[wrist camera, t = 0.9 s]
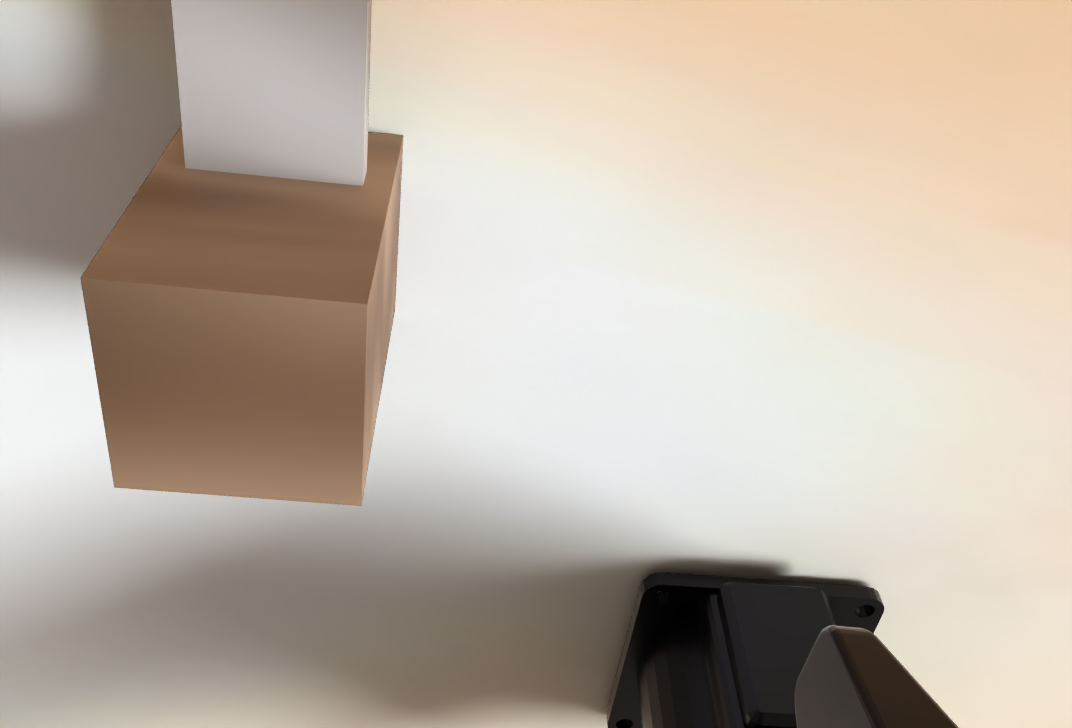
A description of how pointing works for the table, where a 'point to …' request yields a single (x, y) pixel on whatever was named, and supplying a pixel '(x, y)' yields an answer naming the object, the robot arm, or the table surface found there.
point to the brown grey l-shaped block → (254, 264)
